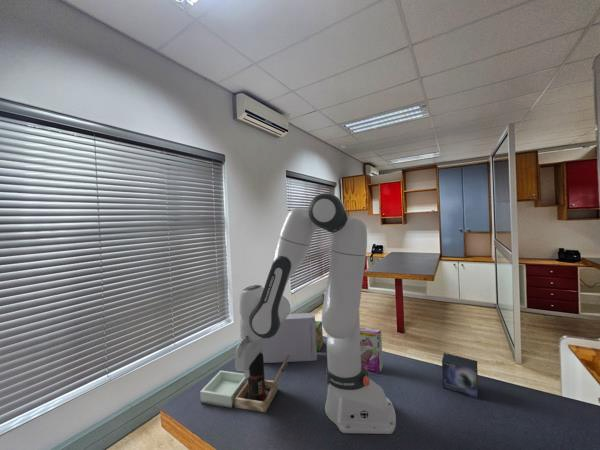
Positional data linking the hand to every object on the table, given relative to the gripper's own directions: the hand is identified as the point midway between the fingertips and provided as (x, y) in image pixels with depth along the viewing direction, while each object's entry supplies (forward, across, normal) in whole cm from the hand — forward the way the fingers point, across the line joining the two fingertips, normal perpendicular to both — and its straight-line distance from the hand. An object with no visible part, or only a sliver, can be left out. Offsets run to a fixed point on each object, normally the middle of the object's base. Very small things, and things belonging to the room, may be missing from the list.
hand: (253, 368), depth 89 cm
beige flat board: (+2, 0, -9) cm, 9 cm away
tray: (+11, 0, +12) cm, 16 cm away
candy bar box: (+10, +26, -40) cm, 49 cm away
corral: (+11, 0, -1) cm, 11 cm away
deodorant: (+11, 0, -1) cm, 11 cm away
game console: (+11, +26, -4) cm, 29 cm away
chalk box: (+11, +39, -13) cm, 43 cm away
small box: (+9, +19, -72) cm, 75 cm away
